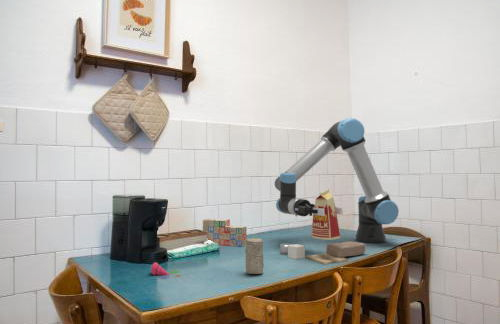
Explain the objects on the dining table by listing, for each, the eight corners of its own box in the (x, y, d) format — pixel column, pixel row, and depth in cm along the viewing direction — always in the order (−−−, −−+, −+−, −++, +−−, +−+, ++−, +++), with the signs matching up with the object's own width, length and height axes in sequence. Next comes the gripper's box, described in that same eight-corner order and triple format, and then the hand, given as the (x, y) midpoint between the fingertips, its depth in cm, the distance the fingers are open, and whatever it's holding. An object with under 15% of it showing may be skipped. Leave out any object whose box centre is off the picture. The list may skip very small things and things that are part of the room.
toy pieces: (148, 281, 124) (148, 267, 125) (151, 272, 135) (151, 260, 136) (185, 279, 126) (185, 266, 126) (185, 271, 137) (185, 259, 137)
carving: (265, 271, 135) (265, 237, 136) (261, 277, 128) (261, 241, 128) (248, 270, 137) (248, 237, 137) (243, 275, 129) (243, 240, 130)
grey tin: (287, 252, 168) (287, 243, 168) (293, 254, 163) (293, 245, 164) (277, 253, 166) (277, 244, 166) (284, 255, 161) (284, 246, 161)
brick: (340, 257, 153) (340, 245, 153) (324, 253, 159) (325, 242, 160) (366, 254, 162) (366, 243, 162) (350, 251, 169) (350, 240, 169)
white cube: (296, 255, 161) (296, 244, 161) (304, 257, 157) (304, 245, 157) (287, 257, 158) (287, 245, 158) (296, 259, 154) (296, 247, 154)
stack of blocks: (246, 244, 186) (246, 219, 186) (241, 247, 180) (241, 221, 180) (208, 242, 194) (208, 218, 194) (202, 244, 188) (202, 219, 188)
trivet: (328, 255, 162) (328, 253, 162) (347, 260, 151) (347, 258, 151) (305, 258, 156) (305, 256, 156) (324, 264, 145) (323, 262, 145)
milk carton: (322, 235, 160) (322, 188, 161) (341, 237, 154) (341, 188, 154) (309, 237, 154) (309, 188, 154) (328, 240, 147) (328, 189, 148)
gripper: (318, 214, 175) (353, 219, 155) (280, 216, 165) (311, 223, 145) (318, 198, 175) (353, 201, 155) (279, 199, 165) (311, 203, 145)
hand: (332, 211), depth 150 cm, fingers closed on milk carton, 8 cm apart
